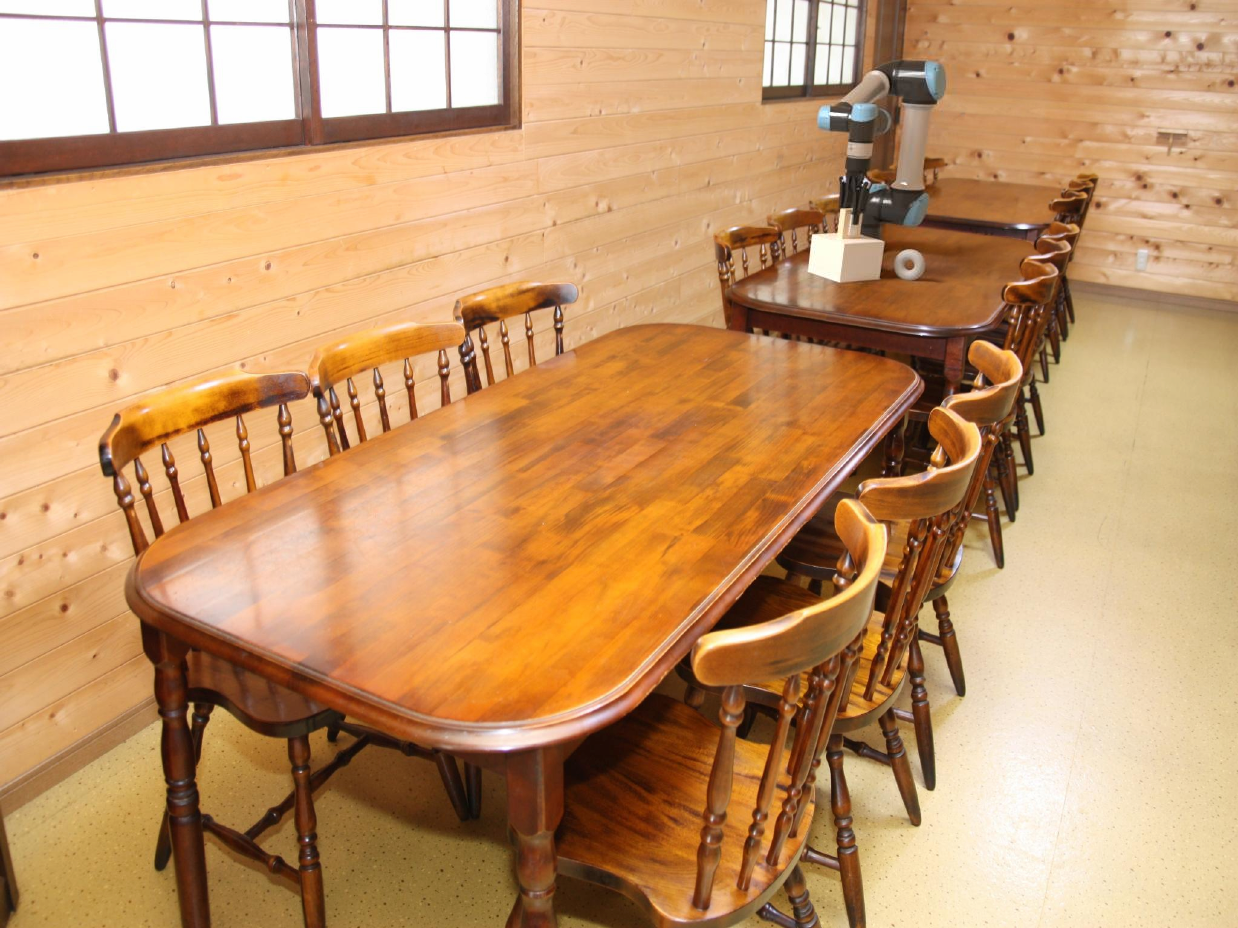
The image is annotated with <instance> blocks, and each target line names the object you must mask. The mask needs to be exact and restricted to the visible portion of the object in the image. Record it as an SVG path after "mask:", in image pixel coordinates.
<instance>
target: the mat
mask: <svg viewBox="0 0 1238 928" xmlns="http://www.w3.org/2000/svg"><path fill="white" fill-rule="evenodd" d="M806 272H807V273H809V274H813V275H817V276H819V277H821V278H824V279H827V280H831V281H834V282H836V283H840V284H841V283H842V282H838V281H835V280H832V279H829V278H826V277H824V276H821V275H818V274H815V273H812V272H809V271H808V270H806ZM877 280H881V278H879V279H870V280H869V281H877ZM863 281H866V280H858V281H857V282H863ZM849 282H850V283H851V282H852V283H853V282H854V281H846V282H845V283H849Z"/></svg>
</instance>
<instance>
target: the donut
mask: <svg viewBox="0 0 1238 928" xmlns="http://www.w3.org/2000/svg"><path fill="white" fill-rule="evenodd" d="M908 261H912V262H913V264H914V267H913V268H912V269H907V268H906V265H905V264H906V262H908ZM893 269H894V273H895V274H896V276H897V277H898V278H900V279H902V280H906V281H916V280H917V279H919V278H920V277H922V275H923V274H924V272H925V270H926V260H925V257H924V256H923V254H922V253H921V252H919V251H918V250H915V249H910V248H909V249H904V250H902V251H901V252H899V253H898V254H897V255H896V256H895V258H894V262H893Z"/></svg>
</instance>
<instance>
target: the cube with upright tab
mask: <svg viewBox="0 0 1238 928" xmlns="http://www.w3.org/2000/svg"><path fill="white" fill-rule="evenodd" d="M839 211H840V212H839V219H838V227H837V232H833V233H832V232H831V233H815V234H811V235H812V236H811V240H810V241H811V244H810V252H809V259H808V269H807V271H809V272H808V273H810V272H812V273H811V274H813V273H815V274H814V275H816V274H818V275H817V276H819V275H821V276H824V277H826V278H825V279H827V278H829V279H828V280H830V279H832V280H831V281H833V280H835V281H834V282H836V281H838V282H837V283H839V282H841V283H847V282H846V281H853V282H859V281H858V280H865V281H871V280H870V279H877V280H880V279H881V278H880V276H881V269H882V262H883V256H884V249H885V244H886V243H885V241H884V240H882V241H881V240H878V239H874V238H871V237H867V236H863V235H860V230H861V223H862V215H863V213H862V214H860V217H859V224H858V225H857V232H856V235H848V230H849V223H850V215H851V213H852V212H853V208H844V209H839ZM821 276H820V277H821ZM824 277H823V278H824ZM879 278H880V279H879Z"/></svg>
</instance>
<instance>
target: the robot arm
mask: <svg viewBox="0 0 1238 928" xmlns="http://www.w3.org/2000/svg"><path fill="white" fill-rule="evenodd" d="M944 67H945V66H944V65H943V64H942V63H941V62H937V61H931V60H911V59H910V60H908V59H893V60H889V61H887V62H884V63H881V64H879V65H877V66H876V67H874V68H872V69H871V70H869V71H868V72H867V73H866V74H865V75H864V77H863V78H862V81H861V82H860V83H859V84H858V85H857V86H856V87H854V88H853V89H852V90H851V91H849V92H848V93H847V94H846V95H845V96H844V97H842V98H841V99H840V100H839V101H838V102H837V103H836V104H834V105H831V104H830V105H822V106H821V107H820V109H819V110H818V114H817V117H816V118H817V119H816V120H817V123H816V124H817V127H818V129H820V130H821V131H828V132H838V133H848V138H847V139H848V143H847V150H846V155H847V157H846V158H845V163H844V168H845V170H846V172H845V175H843V176H842V175H841V176H839V178H838V180H839V194H838V195H839V196H838V197H839V199H838V209H839V210H840V209H844V208H853V212H852V213H851V215H850V223H849V230H848V235H856V232H857V225H858V224H859V217H860V214H862V213H863V215H862V223H861V230H860V235H863V236H867V237H871V238H874V239H878V240H881V241H883V236H882V235H883V234H882V223H883V224H890V225H896V226H897V225H898V226H903V227H913V228H914V227H917V226H919V225H920V224H921V223H922V222H923V220H924V218H925V217H926V214H927V211H928V208H929V206H930V205H929V204H930V195H929V194H928V193H926V192H925V191H926V186H925V185H924V184H923V183H922V177H923V172H924V166H925V165H924V164H925V159H926V151H927V143H928V136H929V128H930V121H931V117H932V116H931V114H932V110H933V109H934V108H935V107H936V106H937V105H938V101H940V100H942V99H943V98H944V96H945V91H946V85H947V75H946V70H945V68H944ZM885 97H897V98H898V97H899V98H900V97H901V105H902V106H903V107H904V115H903V122H902V123H903V124H902V130H901V140H900V147H899V155H898V162H897V168H896V169H897V170H896V177H895V178H896V179H895V181H894V182H892V183H891V185H890V188H888V185H887V183H873V181H870V180H868V172H869V171H870V169H871V162H872V160H871V157H872V155H873V148H874V147H873V146H874V141H875V138H874V137H875V136H880V135H883V134H885V133H886V132H887V131H888V130H889V129H890V128H891V125H892V118H891V115H890V113H889V112H888V111H887V110H884V109H882V108H878V105H877V104H874V103H875V102H876V101H877V100H880V99H883V98H885Z"/></svg>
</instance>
